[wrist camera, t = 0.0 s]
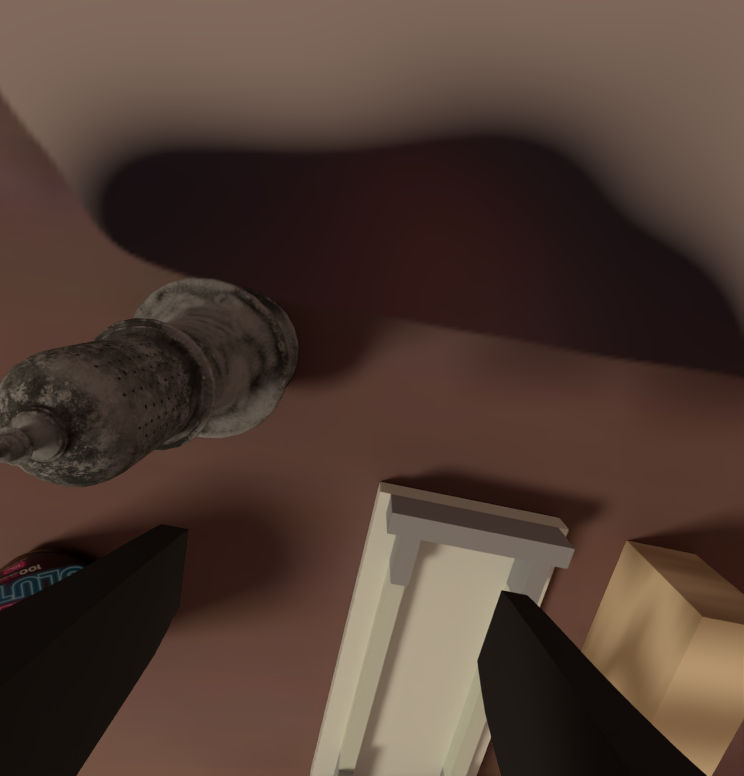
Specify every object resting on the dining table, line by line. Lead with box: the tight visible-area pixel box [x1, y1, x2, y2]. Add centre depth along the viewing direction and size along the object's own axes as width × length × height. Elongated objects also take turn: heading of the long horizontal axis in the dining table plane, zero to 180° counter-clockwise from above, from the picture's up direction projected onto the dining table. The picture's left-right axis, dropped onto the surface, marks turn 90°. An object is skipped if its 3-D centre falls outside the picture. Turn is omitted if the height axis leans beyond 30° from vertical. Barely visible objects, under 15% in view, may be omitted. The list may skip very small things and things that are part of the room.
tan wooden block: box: [581, 541, 744, 776], centre depth 19 cm, size 11×4×5 cm, turn 168°
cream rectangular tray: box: [310, 482, 575, 776], centre depth 21 cm, size 19×9×3 cm, turn 168°
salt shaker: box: [0, 277, 298, 487], centre depth 12 cm, size 6×6×12 cm
